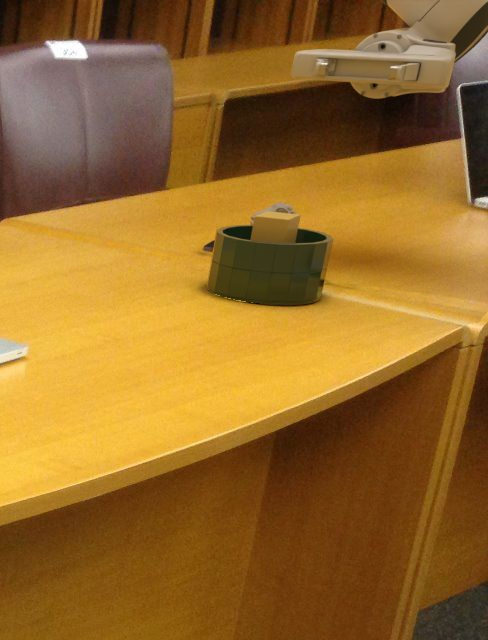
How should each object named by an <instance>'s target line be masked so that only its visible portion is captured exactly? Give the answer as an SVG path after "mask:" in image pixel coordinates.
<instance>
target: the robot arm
mask: <svg viewBox="0 0 488 640" xmlns="http://www.w3.org/2000/svg"><path fill="white" fill-rule="evenodd" d="M379 1H380V2H381V3H382V4H384V5H385V6H386V7H388V8H390V9H391V10H392V11H393V12H394V13H395V14H396V15H397V16H398V17H399V18H400V19H401V20H402V21H403V22H404V23H405V24H406V25H408V27H400V28H395V29H389V30H383V31H379V32H377V33H373V34H371V35H369V36H367V37H366V38H364V39H363V40H361V42H360V43H358V44H357V46H356V47H355V48H354V49H353V50H352V49H330V48H329V49H328V48H327V49H325V48H320V49H319V48H315V49H305V50H297V51H295V54H294V57H293V61H292V65H291V70H290V71H291V72H290V76H291V78H293V79H296V80H307V81H308V80H309V81H326V82H345V83H350V85H351V86H352V88H353V89H354V90H355V92H357V93H358V94H359V95H360V96H362V97H365V98H369V99H377V100H379V99H386V98H388V97H397V96H403V95H406V94H440V93H444V92H445V91H446V89H447V88H448V87H449V86H450V81H451V78H452V74H453V69H454V65H455V64H456V62H459V61H460V60H461V59H462V58H463V57H465V56H466V55H467V54H468V53H469V52H470V51H472V50H473V49H474V48H475V47H476V46H477V45H478V44H479V43H480V42H481V41H482V40H483V39H484V38H485V36H486V35H487V34H488V0H379Z"/></svg>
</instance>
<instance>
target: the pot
mask: <svg viewBox="0 0 488 640" xmlns="http://www.w3.org/2000/svg"><path fill="white" fill-rule="evenodd" d="M252 229H253V225H250V224H238V225H237V224H235V225H227V226H222V227H220V228H217V229H216V230H215V237H214V240H215V242H214V247H213V252H211V260H210V265H209V270H208V275H207V276H208V277H207V281H206V290H207V289H208V290H209V291H210V292H209V291H208V290H207V291H208V292H209V293H211V292H212V293H211V294H213V293H214V294H213V295H215V294H217V295H220V296H223V297H227V298H231V299H235V300H241V301H246V302H253V303H259V304H258V305H263V304H267V305H266V306H301V305H307V304H308V305H309V304H313V303H316V302H318V301H319V300H321V296H323V290H324V285H325V281H326V276H327V272H328V267H329V261H330V256H331V252H332V247H333V243H334V237H333V236H332V235H330V234H328V233H326V232H323V231H318V230H315V229H310V228H302V227H298V231H297V236H296V241H295V244H294V243H271V242H259V241H252V240H250V239H251V234H252ZM217 295H216V296H217ZM220 296H219V297H220ZM223 297H222V298H223Z"/></svg>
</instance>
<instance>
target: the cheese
mask: <svg viewBox="0 0 488 640" xmlns="http://www.w3.org/2000/svg"><path fill="white" fill-rule="evenodd" d="M301 216H302V215H301V214H300V213H299V214H298V213H297V214H289V213H280V212H270V211H266V212H264V213H261V214H259V215H256V216H255V218H254V223H253V229H252V234H251V239H250V240H252V241H259V242H271V243H294V244H295V241H296V236H297V231H298V228H299V226H300V221H301Z"/></svg>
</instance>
